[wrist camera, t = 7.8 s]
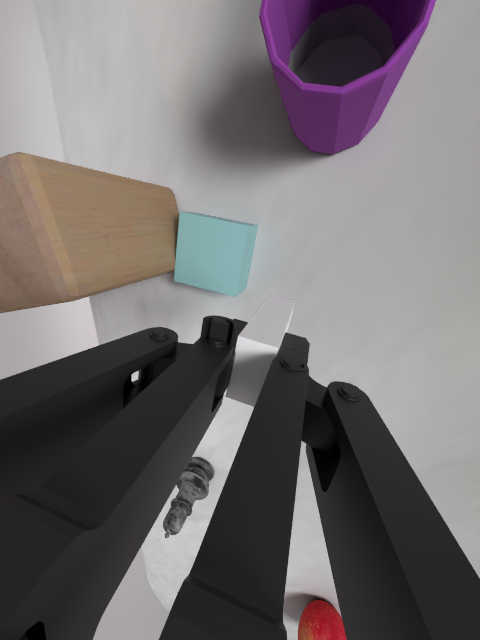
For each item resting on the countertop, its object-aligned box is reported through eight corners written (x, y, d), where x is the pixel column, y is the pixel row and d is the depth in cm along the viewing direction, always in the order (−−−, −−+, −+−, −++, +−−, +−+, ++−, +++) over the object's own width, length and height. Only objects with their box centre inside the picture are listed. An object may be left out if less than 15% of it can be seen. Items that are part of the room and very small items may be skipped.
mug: (289, 162, 31) (262, 110, 17) (286, -25, 26) (244, -305, 12) (381, 148, 28) (437, 75, 14) (397, -62, 23) (501, -472, 10)
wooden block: (133, 276, 41) (-20, 317, 23) (112, 204, 38) (-82, 185, 20) (194, 265, 37) (71, 302, 19) (175, 186, 35) (13, 143, 17)
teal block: (198, 213, 35) (179, 211, 31) (258, 225, 34) (248, 225, 29) (191, 274, 38) (173, 280, 34) (246, 288, 37) (235, 297, 32)
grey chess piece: (185, 476, 51) (147, 544, 40) (186, 451, 49) (146, 516, 38) (214, 486, 50) (184, 559, 39) (217, 461, 48) (185, 531, 37)
